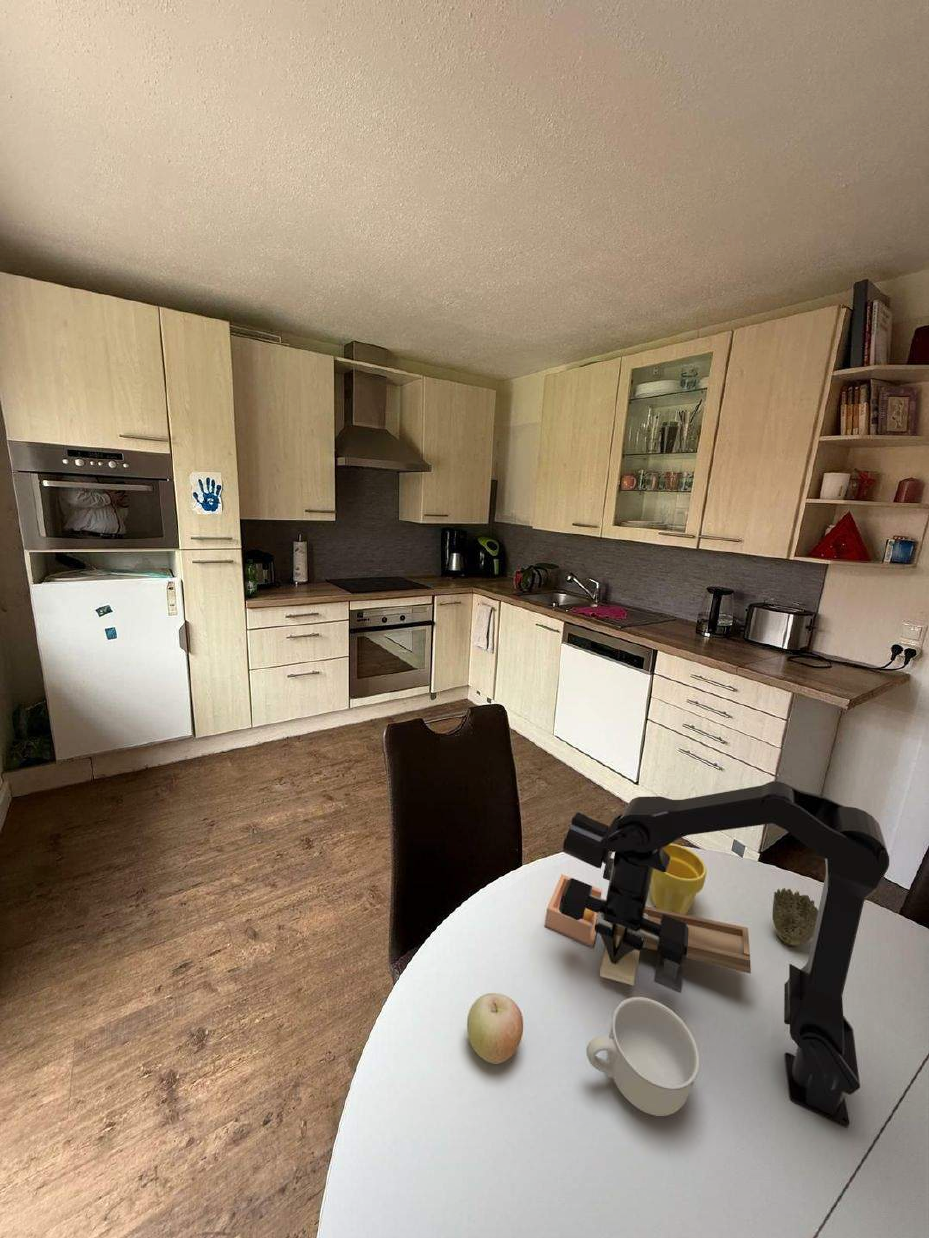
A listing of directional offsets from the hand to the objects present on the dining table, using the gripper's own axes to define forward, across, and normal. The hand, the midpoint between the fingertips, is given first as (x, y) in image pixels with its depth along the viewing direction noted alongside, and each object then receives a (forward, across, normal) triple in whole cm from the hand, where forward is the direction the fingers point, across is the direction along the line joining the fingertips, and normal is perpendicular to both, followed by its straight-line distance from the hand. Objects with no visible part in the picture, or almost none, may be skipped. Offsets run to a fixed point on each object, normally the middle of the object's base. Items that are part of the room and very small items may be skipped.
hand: (613, 960), depth 81 cm
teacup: (+3, -6, +14) cm, 15 cm away
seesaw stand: (+3, -8, -9) cm, 13 cm away
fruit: (+4, +12, +19) cm, 23 cm away
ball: (+1, +7, -9) cm, 11 cm away
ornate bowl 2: (+3, -28, -24) cm, 37 cm away
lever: (-1, -8, -5) cm, 10 cm away
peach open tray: (+3, +8, -9) cm, 13 cm away
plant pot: (+3, -7, -22) cm, 23 cm away
